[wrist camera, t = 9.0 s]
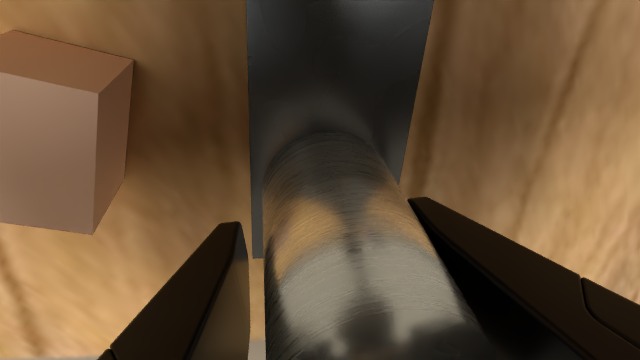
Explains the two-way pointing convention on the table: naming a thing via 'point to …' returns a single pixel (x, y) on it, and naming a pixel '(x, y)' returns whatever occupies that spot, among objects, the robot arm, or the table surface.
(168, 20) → the table surface
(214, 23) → the table surface
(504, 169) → the table surface
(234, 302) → the robot arm
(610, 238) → the table surface
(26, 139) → the block
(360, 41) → the stool leg
